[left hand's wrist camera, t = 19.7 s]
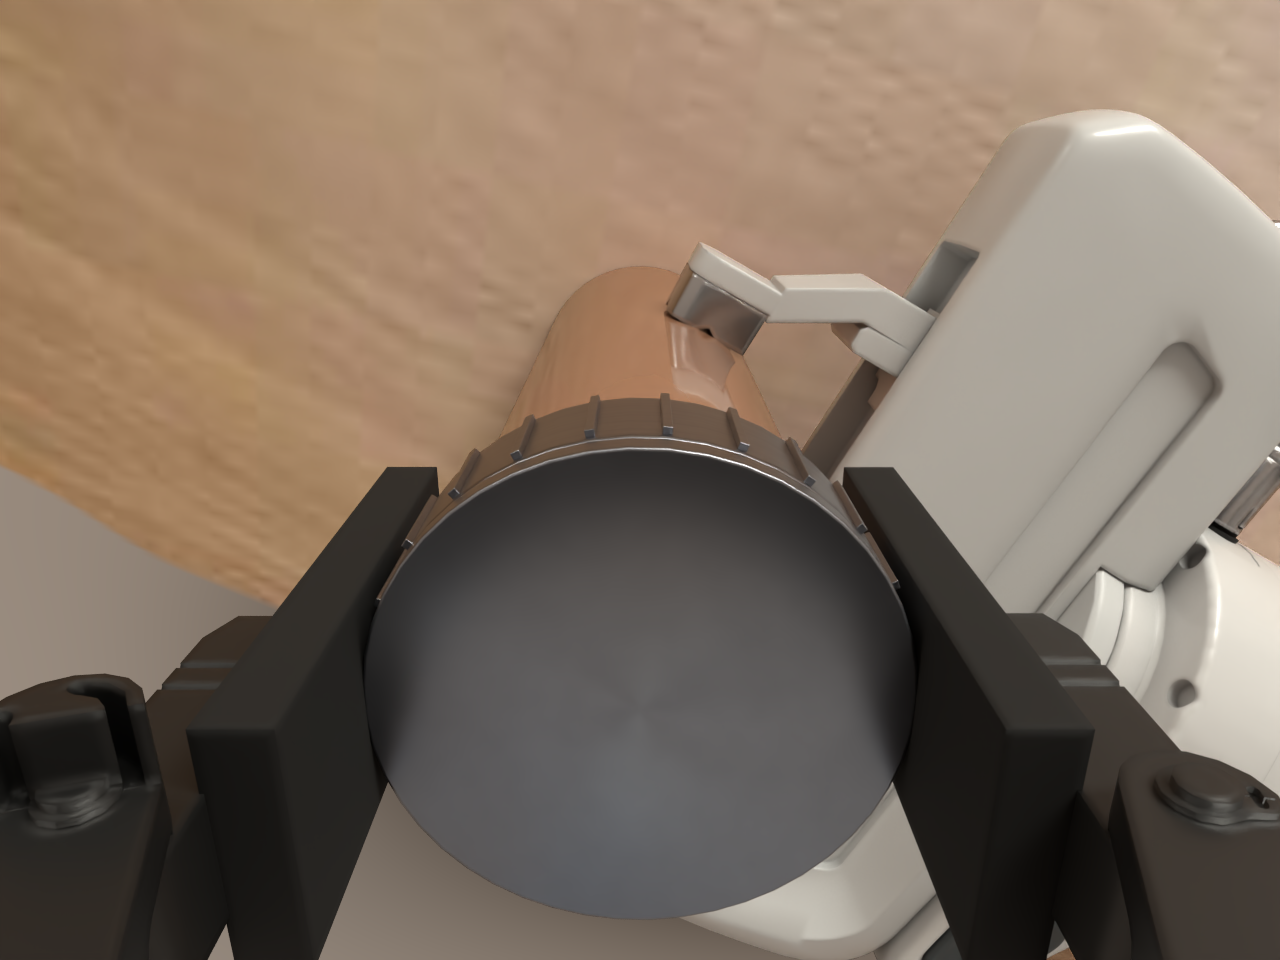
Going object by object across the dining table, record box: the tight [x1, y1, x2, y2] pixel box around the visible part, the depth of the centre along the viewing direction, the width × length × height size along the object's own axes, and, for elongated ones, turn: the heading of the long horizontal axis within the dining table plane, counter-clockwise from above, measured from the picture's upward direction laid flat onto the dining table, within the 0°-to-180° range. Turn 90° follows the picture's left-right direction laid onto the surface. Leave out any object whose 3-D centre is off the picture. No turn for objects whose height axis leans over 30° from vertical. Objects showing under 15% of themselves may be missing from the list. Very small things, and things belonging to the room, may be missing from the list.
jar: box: [499, 266, 782, 439], centre depth 18 cm, size 5×5×16 cm
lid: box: [363, 393, 917, 920], centre depth 11 cm, size 6×6×2 cm
